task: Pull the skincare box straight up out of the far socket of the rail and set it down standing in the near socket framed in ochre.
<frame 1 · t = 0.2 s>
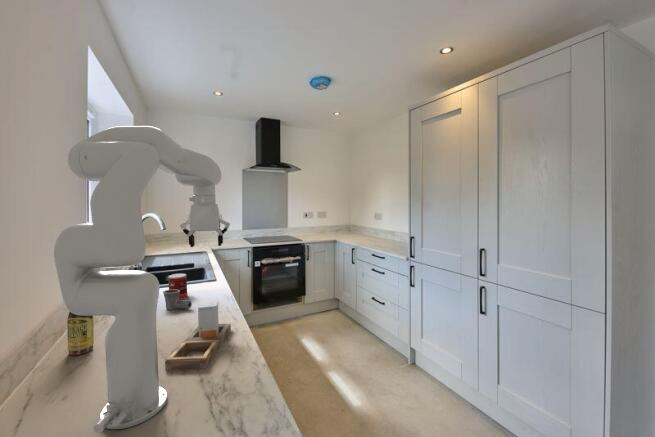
hand: (206, 246, 107), 30 cm above the table, tool pointing down, fingers open, 9 cm apart
pipe: (177, 309, 126), on the table
canned food: (178, 297, 142), on the table
sauce bottle: (82, 351, 91), on the table
socket rail: (202, 347, 92), on the table
skincare box: (209, 339, 98), resting in socket rail
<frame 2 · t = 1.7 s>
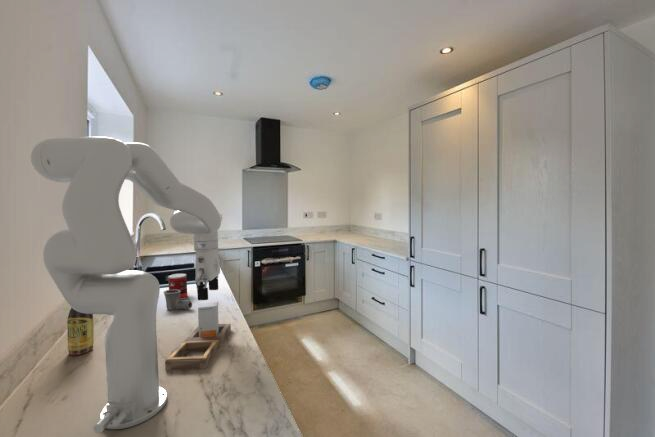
hand: (208, 294, 98), 15 cm above the table, tool pointing down, fingers open, 9 cm apart
nothing on the table moved.
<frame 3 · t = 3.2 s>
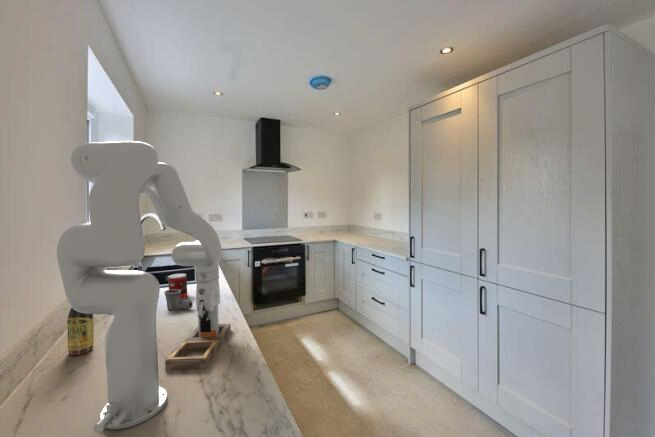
hand: (208, 327, 98), 4 cm above the table, tool pointing down, fingers closed on skincare box, 5 cm apart
skincare box: (209, 339, 98), resting in socket rail, touching gripper
everything else where it was.
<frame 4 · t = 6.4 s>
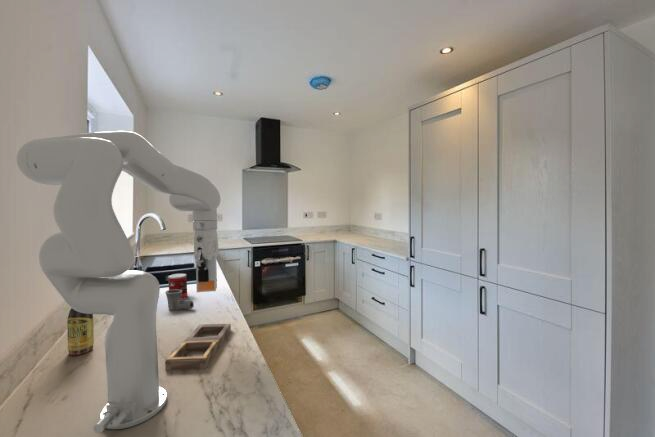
hand: (206, 278, 97), 21 cm above the table, tool pointing down, fingers closed on skincare box, 5 cm apart
skincare box: (207, 290, 97), point 17 cm above the table, touching gripper
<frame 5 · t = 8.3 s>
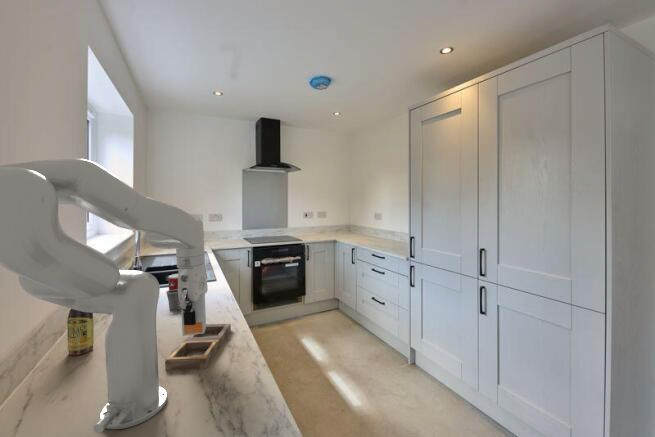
hand: (194, 319, 86), 12 cm above the table, tool pointing down, fingers closed on skincare box, 5 cm apart
skincare box: (194, 332, 86), point 7 cm above the table, touching gripper
when the fingers open (5 cm above the table, at t = 9.6 s): skincare box stays where it is, resting in socket rail.
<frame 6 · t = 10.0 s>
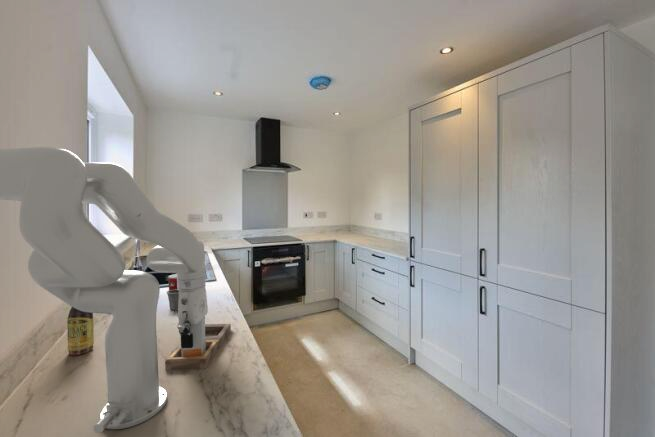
hand: (193, 339, 86), 6 cm above the table, tool pointing down, fingers open, 8 cm apart
skincare box: (194, 358, 86), resting in socket rail
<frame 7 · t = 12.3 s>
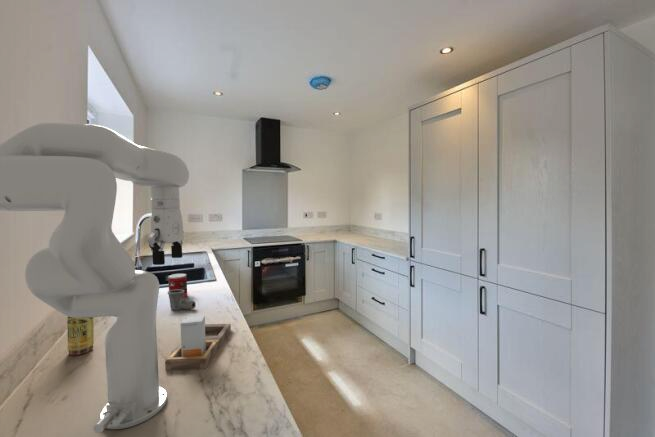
hand: (168, 260, 88), 29 cm above the table, tool pointing down, fingers open, 9 cm apart
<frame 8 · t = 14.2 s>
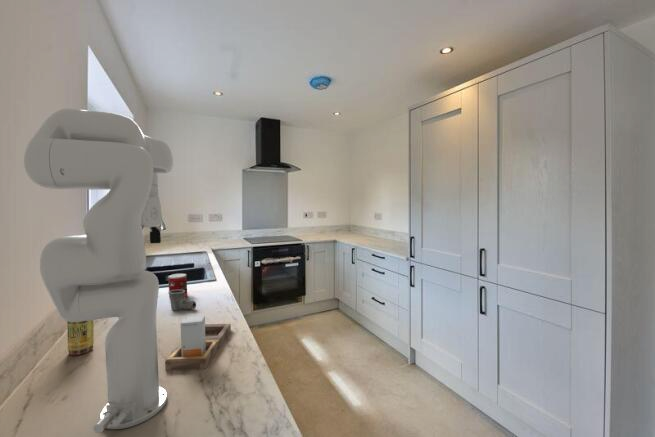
hand: (146, 245, 91), 33 cm above the table, tool pointing down, fingers open, 9 cm apart
at the end: skincare box 0.2 cm from the target spot, resting in socket rail; skincare box tilted 0°; the gripper is holding nothing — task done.
